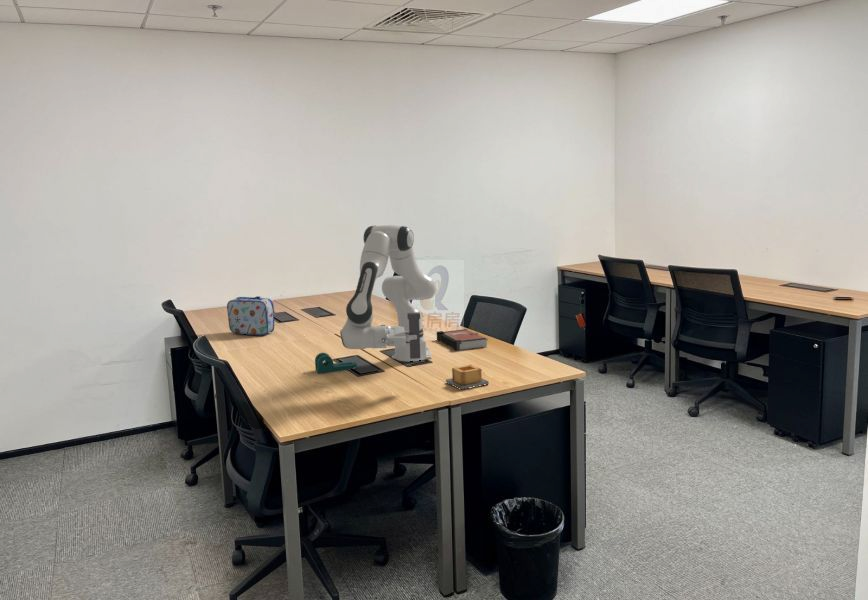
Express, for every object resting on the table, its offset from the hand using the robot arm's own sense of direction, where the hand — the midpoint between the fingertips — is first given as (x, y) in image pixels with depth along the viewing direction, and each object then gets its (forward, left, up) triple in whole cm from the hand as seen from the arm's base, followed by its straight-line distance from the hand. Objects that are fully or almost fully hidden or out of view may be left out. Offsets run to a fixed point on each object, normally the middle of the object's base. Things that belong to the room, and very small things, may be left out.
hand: (416, 335), depth 275 cm
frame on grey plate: (-6, +19, -21) cm, 29 cm away
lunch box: (-97, -110, -22) cm, 148 cm away
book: (-76, +10, -22) cm, 80 cm away
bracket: (-26, -41, -22) cm, 53 cm away
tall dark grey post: (0, -1, -9) cm, 9 cm away
